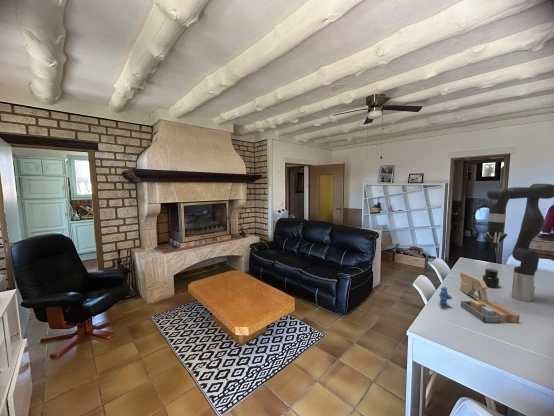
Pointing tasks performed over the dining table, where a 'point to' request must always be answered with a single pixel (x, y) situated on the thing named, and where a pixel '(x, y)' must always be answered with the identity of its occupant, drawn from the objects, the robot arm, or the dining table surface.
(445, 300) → the grapes
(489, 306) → the board
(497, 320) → the tray
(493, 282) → the ink bottle
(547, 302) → the dining table surface
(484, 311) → the pale blue-gray cube
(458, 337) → the dining table surface
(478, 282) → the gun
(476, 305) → the cube terracotta
